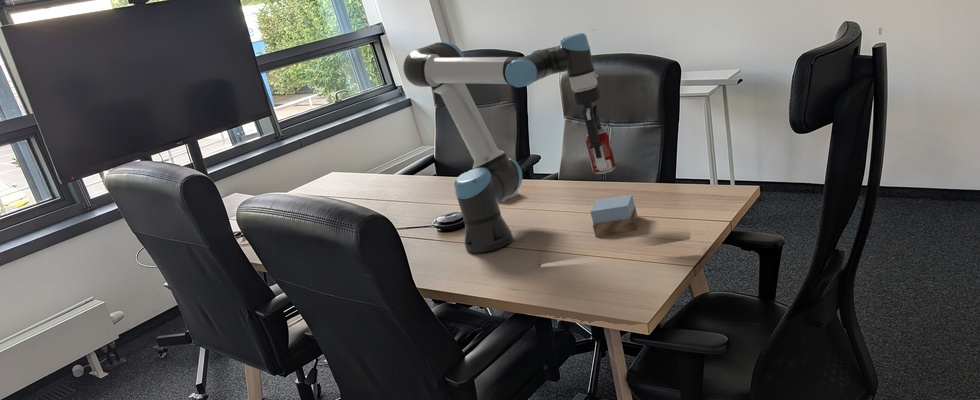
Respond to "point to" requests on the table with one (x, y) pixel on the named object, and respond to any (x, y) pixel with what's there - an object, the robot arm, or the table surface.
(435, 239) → the table surface
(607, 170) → the soda can
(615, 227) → the base block
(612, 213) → the top block
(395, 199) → the table surface
